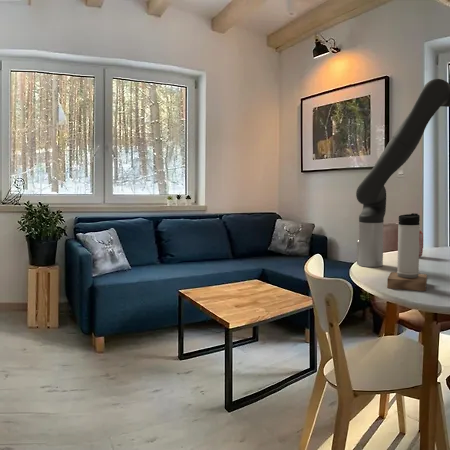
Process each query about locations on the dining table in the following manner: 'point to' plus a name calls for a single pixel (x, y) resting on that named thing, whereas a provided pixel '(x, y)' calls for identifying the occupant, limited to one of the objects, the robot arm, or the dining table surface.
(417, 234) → the travel mug
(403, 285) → the walnut stand
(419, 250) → the soda can
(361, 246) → the robot arm
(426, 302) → the dining table surface
